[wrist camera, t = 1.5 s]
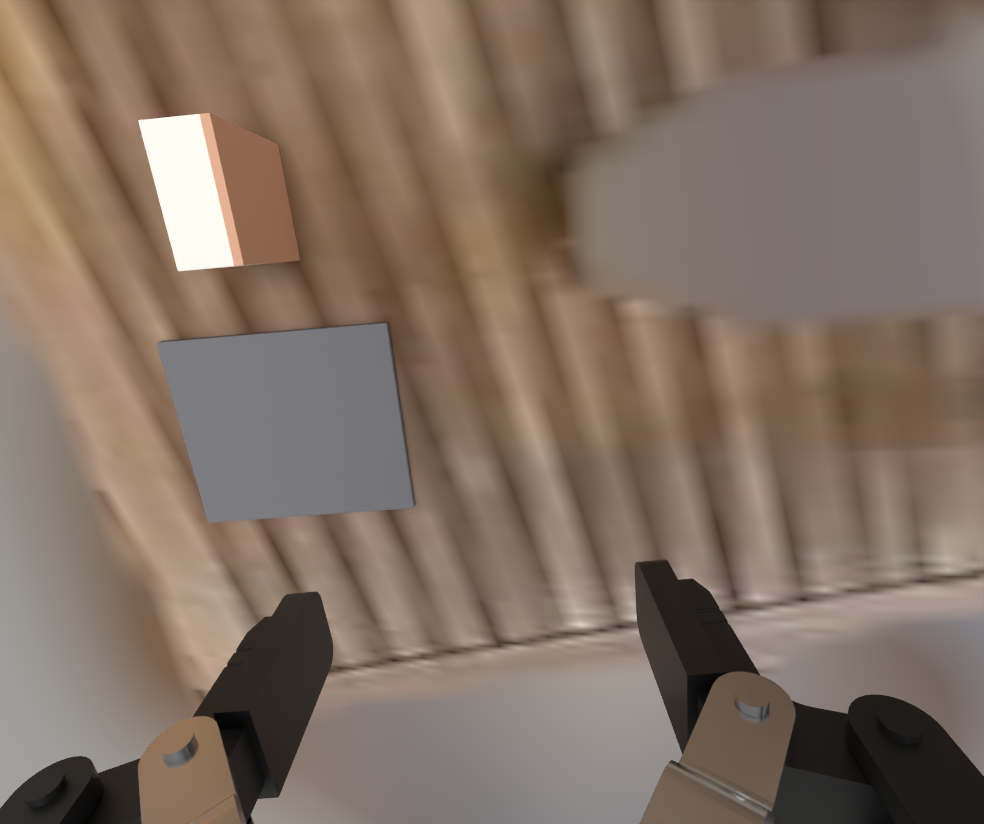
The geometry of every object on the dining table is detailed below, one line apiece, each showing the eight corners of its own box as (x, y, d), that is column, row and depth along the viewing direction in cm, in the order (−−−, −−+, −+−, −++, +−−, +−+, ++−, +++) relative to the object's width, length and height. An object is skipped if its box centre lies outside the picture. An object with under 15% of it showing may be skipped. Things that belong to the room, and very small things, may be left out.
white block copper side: (223, 149, 32) (138, 120, 25) (277, 144, 32) (209, 113, 25) (248, 265, 34) (177, 271, 27) (300, 260, 34) (243, 265, 27)
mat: (161, 341, 36) (156, 342, 36) (388, 321, 35) (386, 323, 35) (212, 518, 40) (208, 522, 40) (415, 504, 40) (413, 507, 39)
